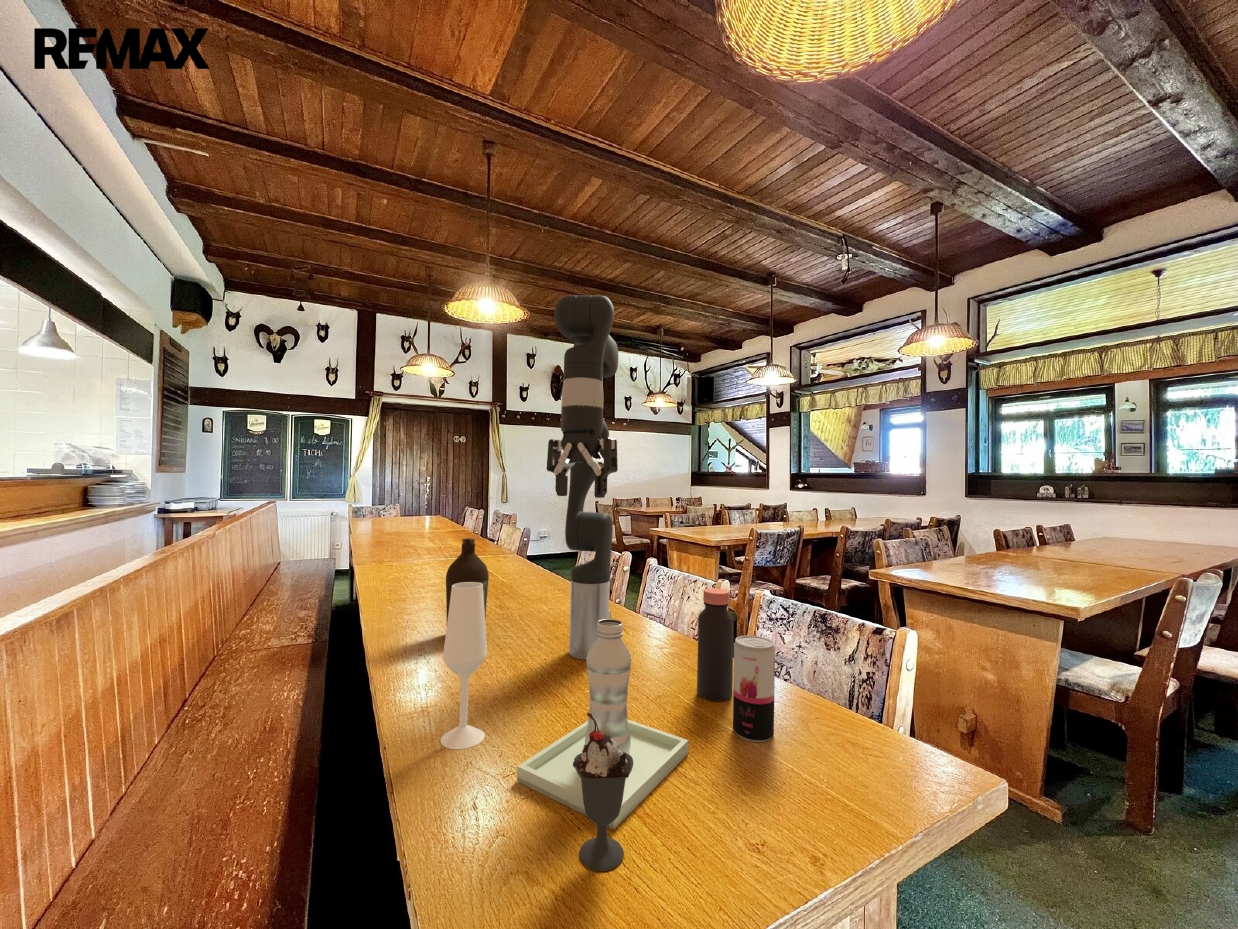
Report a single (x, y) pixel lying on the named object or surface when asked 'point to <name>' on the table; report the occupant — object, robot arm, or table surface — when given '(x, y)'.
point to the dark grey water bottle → (715, 647)
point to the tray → (650, 767)
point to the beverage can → (754, 688)
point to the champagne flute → (465, 653)
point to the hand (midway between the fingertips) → (580, 496)
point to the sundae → (602, 796)
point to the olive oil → (467, 571)
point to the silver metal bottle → (609, 683)
